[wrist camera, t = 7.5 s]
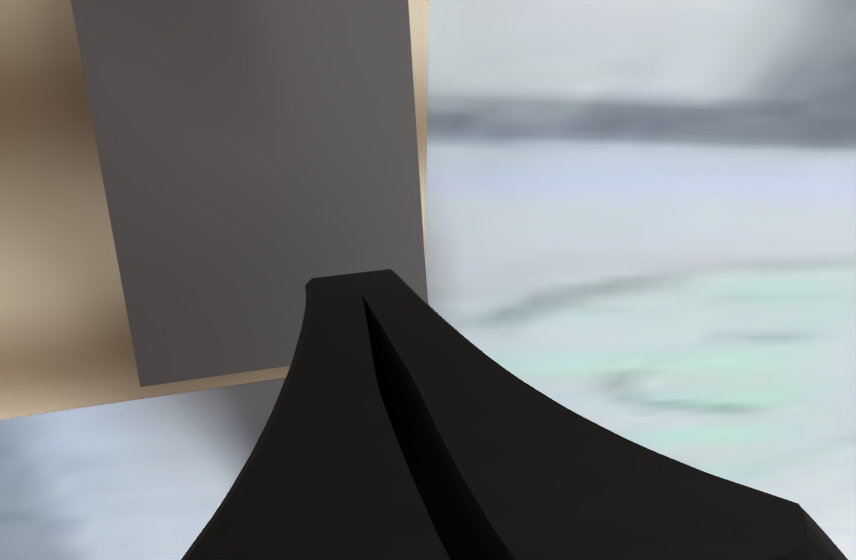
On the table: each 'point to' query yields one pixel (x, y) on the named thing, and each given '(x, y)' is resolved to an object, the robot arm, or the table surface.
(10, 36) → the switch panel
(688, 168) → the table surface
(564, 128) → the table surface
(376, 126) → the rocker
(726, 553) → the robot arm
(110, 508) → the table surface
